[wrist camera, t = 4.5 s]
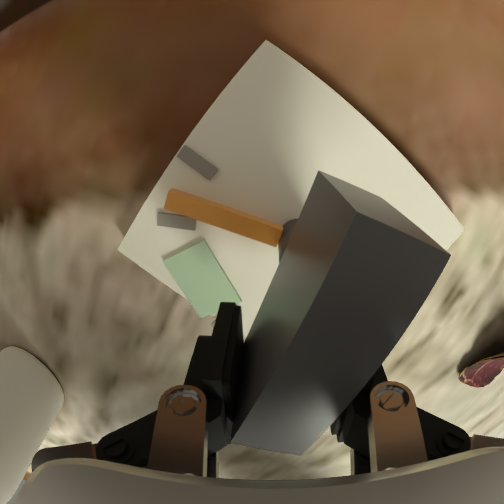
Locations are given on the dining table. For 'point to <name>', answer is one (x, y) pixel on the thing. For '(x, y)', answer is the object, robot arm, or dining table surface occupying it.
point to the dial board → (267, 182)
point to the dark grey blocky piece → (322, 306)
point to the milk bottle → (23, 414)
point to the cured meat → (483, 371)
